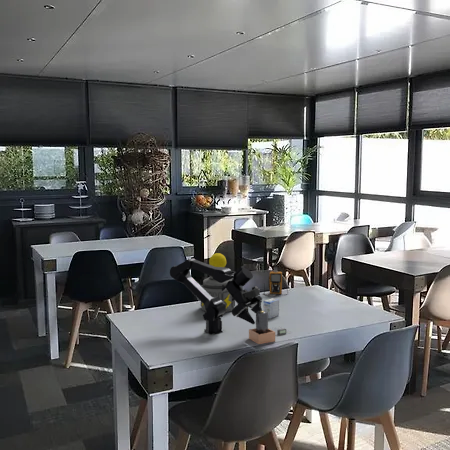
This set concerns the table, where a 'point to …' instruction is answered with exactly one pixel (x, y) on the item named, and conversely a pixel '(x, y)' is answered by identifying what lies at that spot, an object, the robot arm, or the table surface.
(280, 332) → the checker pad
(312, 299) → the table surface
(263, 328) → the cell
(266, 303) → the medicine box
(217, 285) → the decorative lamp
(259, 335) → the cup
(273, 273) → the multimeter
